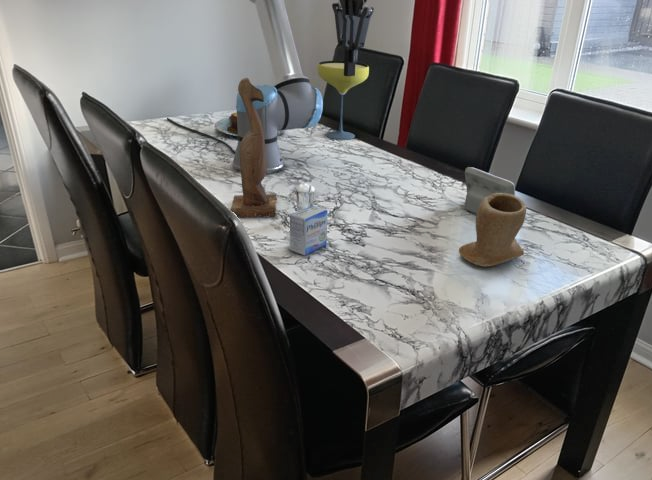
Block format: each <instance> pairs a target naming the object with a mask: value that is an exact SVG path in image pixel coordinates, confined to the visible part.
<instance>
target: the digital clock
mask: <svg viewBox="0 0 652 480" xmlns="http://www.w3.org/2000/svg"><path fill="white" fill-rule="evenodd" d="M464 177H465V184H466V185H465V186H466V196H465V201H464V210H466V211H469V212H471V213H473V214H475V215H477V212H478V209H479V206H480V203H481V202H482V200H483V199H484V198H486V197H487V196H489V195H491V194H495V193H507V194H511V195H514V196H516V189H515V188H516V186H515V183H514V182H513V181H511V180H509V179H505V178H503V177H500V176H497V175H495V174H492V173H489V172H486V171H484V170H482V169H478V168H475V167H474V166H473V167H471V166H467V167H466V168H465V170H464Z"/></svg>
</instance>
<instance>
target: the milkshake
mask: <svg viewBox="0 0 652 480" xmlns="http://www.w3.org/2000/svg"><path fill="white" fill-rule="evenodd" d="M315 191H316V189H315V187H314V186H313V184H310V183H301V184H298V185H296V186H295V195H296V196H295V197H296V208H297V209H296V210H297V212H299V211H301V210H303V209H306V208H308V207H311V206H314V199H315V198H314V197H315Z"/></svg>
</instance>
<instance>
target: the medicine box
mask: <svg viewBox="0 0 652 480" xmlns="http://www.w3.org/2000/svg"><path fill="white" fill-rule="evenodd" d="M328 212H329V211H328V210H327V209H326V208H323V207H320V206H317V205H313V206H311V207H308V208H306V209H303V210H301V211H299V212H298V211H296V212H294V213H291V214H290V215H289V250H290V251H292V252H294V253H296V254H300V255H303V256H308V255H309V254H311V253H313V252H315V251H317V250H319V249H321V248H323V247H325V246H326V245H327V243H328Z"/></svg>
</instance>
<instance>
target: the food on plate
mask: <svg viewBox="0 0 652 480" xmlns="http://www.w3.org/2000/svg"><path fill="white" fill-rule="evenodd" d="M214 129H216V130H217V131H219V132H220V133H223V134H226V135H231V136H232V137H233V136H235V137H238V127H237V112H233V113H231V115H230V116H226V117H223V118H220V119H219V120H217V121H216V122H215V124H214ZM280 132H281V131H277V134H278V133H280ZM281 137H282V135H281Z"/></svg>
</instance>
